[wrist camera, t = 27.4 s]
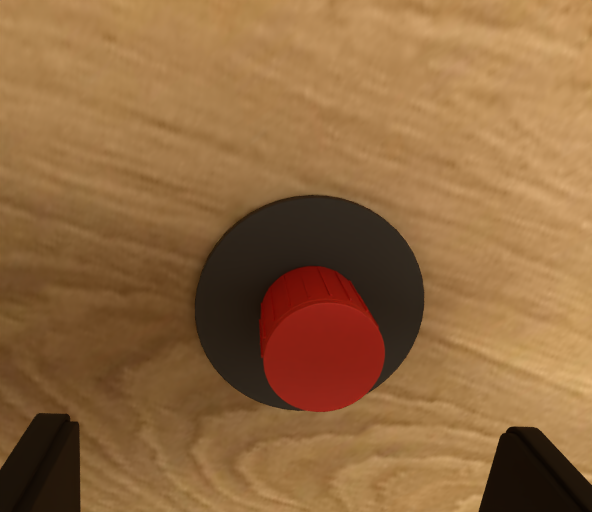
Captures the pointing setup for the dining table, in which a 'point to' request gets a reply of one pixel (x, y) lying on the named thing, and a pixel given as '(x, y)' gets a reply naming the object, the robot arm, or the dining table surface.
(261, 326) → the cap
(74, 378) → the dining table surface
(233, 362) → the coaster
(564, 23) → the dining table surface
